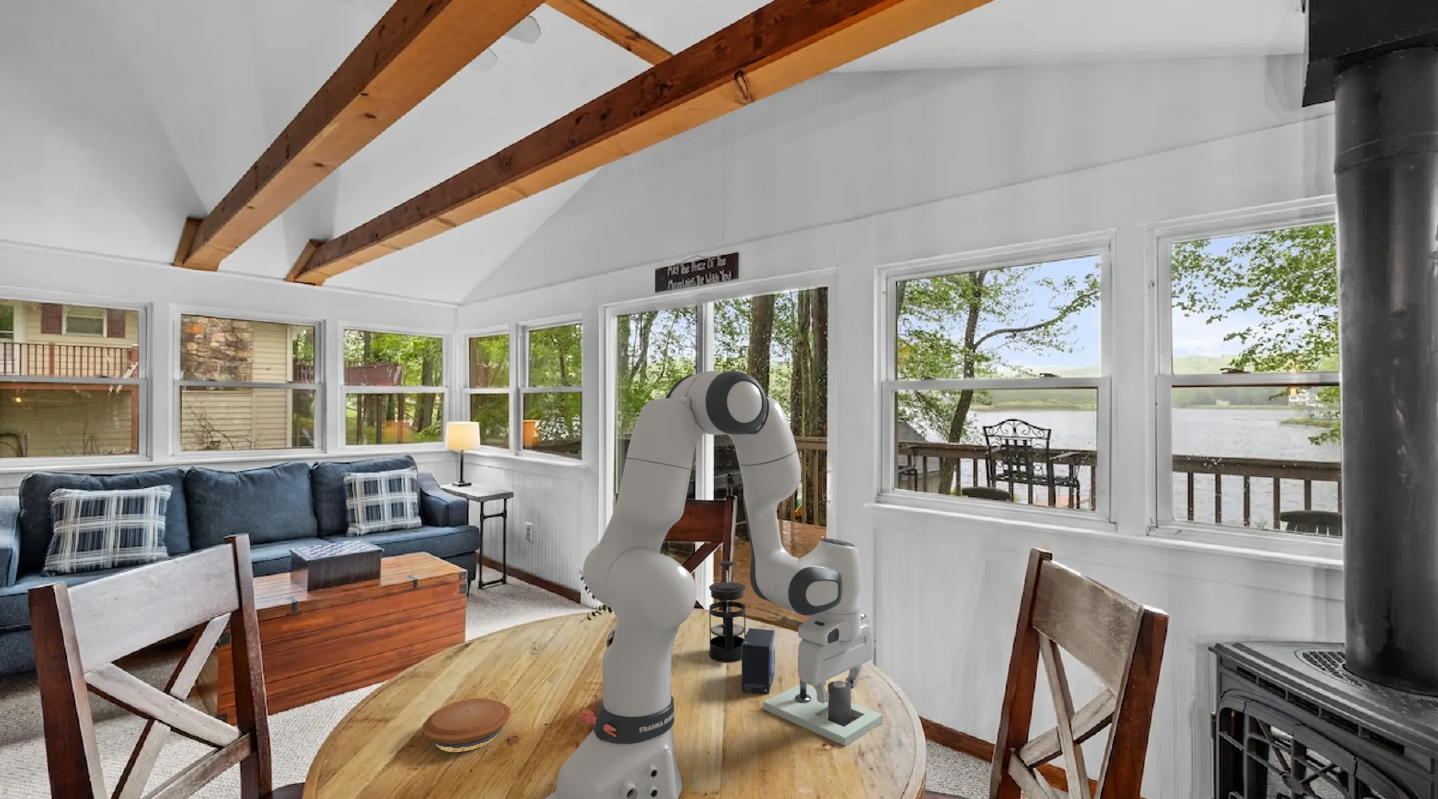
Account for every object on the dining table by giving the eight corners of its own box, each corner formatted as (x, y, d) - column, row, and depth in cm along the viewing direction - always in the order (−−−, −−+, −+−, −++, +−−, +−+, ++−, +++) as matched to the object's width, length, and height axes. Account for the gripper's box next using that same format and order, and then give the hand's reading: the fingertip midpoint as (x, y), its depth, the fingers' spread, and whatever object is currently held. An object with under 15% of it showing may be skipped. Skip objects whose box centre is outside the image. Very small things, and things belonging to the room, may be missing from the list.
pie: (508, 711, 132) (507, 687, 132) (513, 749, 117) (513, 721, 117) (425, 726, 126) (424, 700, 126) (419, 767, 112) (419, 738, 112)
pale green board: (845, 746, 117) (845, 737, 117) (763, 709, 132) (763, 701, 132) (882, 722, 126) (882, 714, 126) (802, 690, 140) (802, 683, 140)
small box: (770, 695, 138) (770, 645, 138) (740, 692, 139) (740, 643, 140) (776, 674, 148) (775, 628, 149) (748, 672, 150) (747, 627, 150)
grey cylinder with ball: (823, 722, 126) (823, 683, 126) (837, 714, 129) (836, 676, 129) (842, 730, 123) (842, 690, 123) (855, 722, 126) (855, 683, 126)
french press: (708, 647, 165) (707, 557, 165) (744, 646, 166) (743, 556, 166) (709, 666, 154) (709, 569, 154) (749, 664, 154) (748, 568, 154)
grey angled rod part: (804, 704, 130) (804, 657, 130) (792, 699, 133) (791, 652, 133) (824, 694, 135) (823, 648, 135) (812, 689, 137) (811, 644, 137)
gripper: (855, 607, 135) (854, 674, 135) (792, 630, 121) (791, 704, 121) (881, 615, 131) (881, 683, 131) (819, 639, 117) (818, 716, 117)
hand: (837, 694), depth 126 cm, fingers open, 8 cm apart
